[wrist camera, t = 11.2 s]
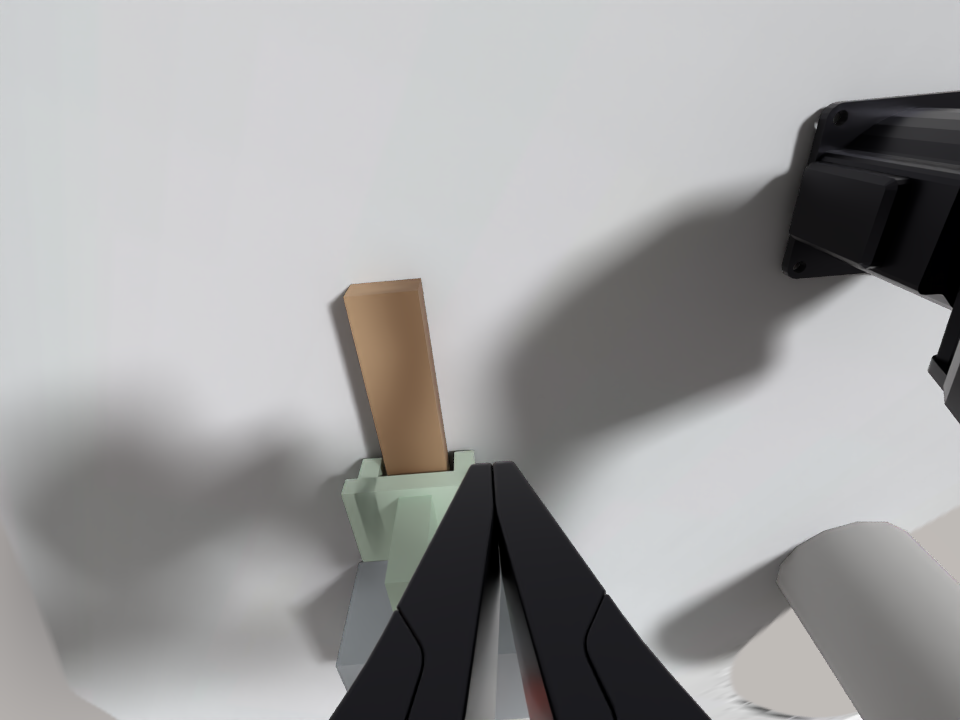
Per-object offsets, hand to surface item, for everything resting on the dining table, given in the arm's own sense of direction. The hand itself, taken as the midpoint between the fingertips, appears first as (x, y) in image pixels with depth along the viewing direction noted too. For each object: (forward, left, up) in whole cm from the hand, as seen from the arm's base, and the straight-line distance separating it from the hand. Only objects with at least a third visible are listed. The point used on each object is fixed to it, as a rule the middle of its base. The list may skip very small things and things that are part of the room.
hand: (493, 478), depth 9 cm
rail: (+4, +9, -12) cm, 16 cm away
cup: (-22, +22, -12) cm, 33 cm away
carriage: (+4, +12, -12) cm, 17 cm away
